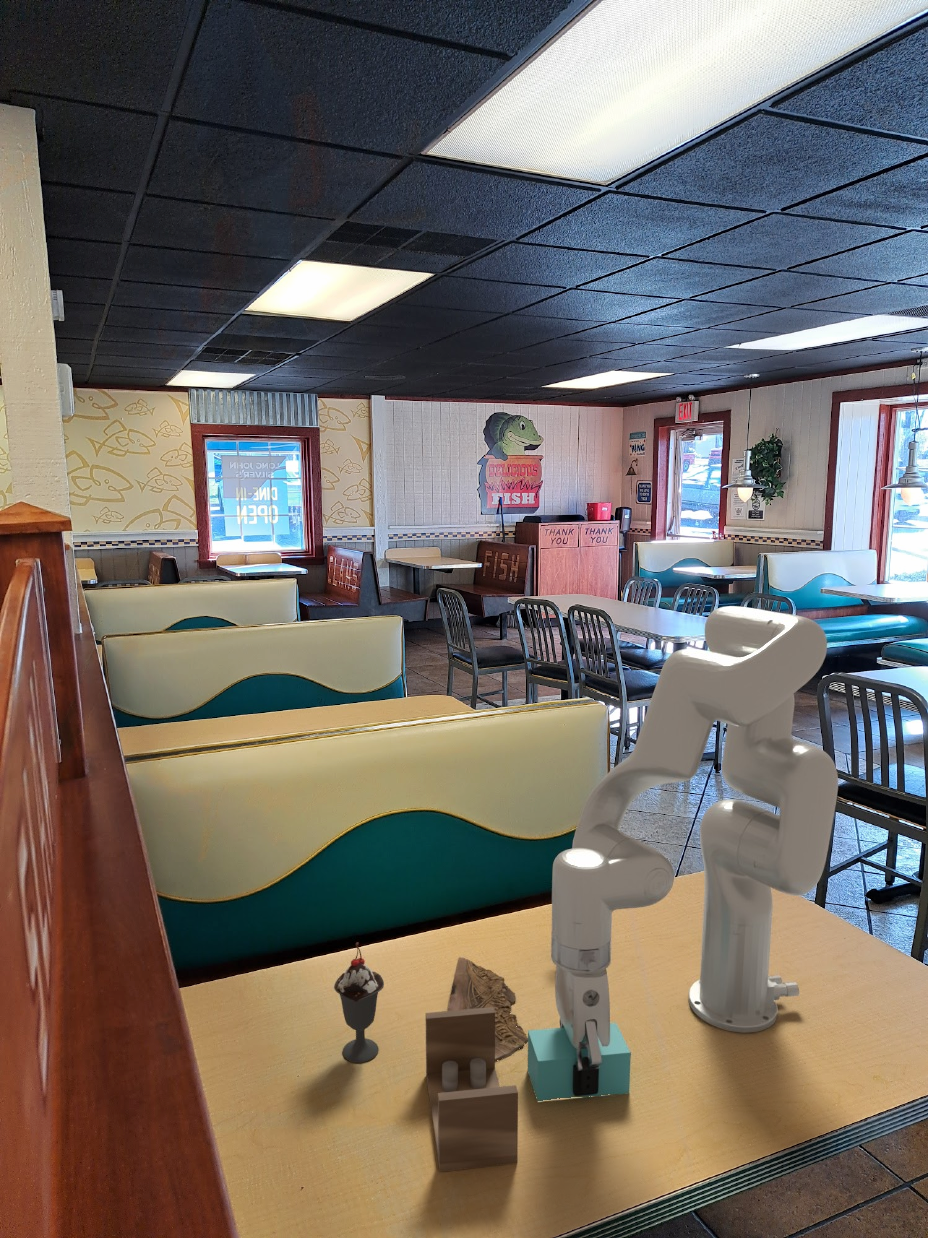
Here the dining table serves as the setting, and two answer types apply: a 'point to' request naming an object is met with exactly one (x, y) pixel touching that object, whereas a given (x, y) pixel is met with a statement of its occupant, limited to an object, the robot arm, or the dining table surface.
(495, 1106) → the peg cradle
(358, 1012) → the sundae
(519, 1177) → the dining table surface
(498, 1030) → the wooden fragment
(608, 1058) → the turquoise block
